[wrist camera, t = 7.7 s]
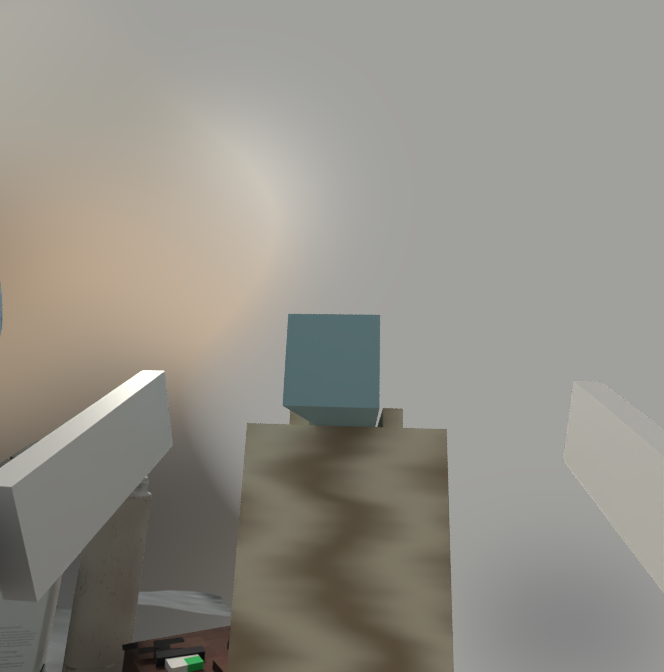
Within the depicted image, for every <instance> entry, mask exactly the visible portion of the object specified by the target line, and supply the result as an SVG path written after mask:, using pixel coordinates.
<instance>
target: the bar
mask: <svg viewBox="0 0 664 672" xmlns="http://www.w3.org/2000/svg"><path fill="white" fill-rule="evenodd" d="M379 363H380V315H336V314H334V315H333V314H289V315H288V329H287V345H286V361H285V377H284V393H283V406H284V407H286V408H288V409H289V410H291V411H292V412H294V413H296V414H297V415H299V416H301V417H302V418H304V419H306V420H307V421H309V422H311V423H312V424H314V425H321V426H354V427H375V425H376V421H377V416H378V411H379V371H380V368H379V367H380V365H379Z"/></svg>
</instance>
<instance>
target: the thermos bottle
mask: <svg viewBox="0 0 664 672" xmlns="http://www.w3.org/2000/svg"><path fill="white" fill-rule="evenodd" d="M148 483H149V482H148V477H147V476H146V477H145V478H144V479H143V480H142V481H141V483H140V484H139V485H138V486H137V487H136V488H135V490H134V491H133V492H132V493H131V494H130V495H129V496H128V498H127V499H126V500H125V501H124V502H123V503H122V505H121V506H120V507H119V508H118V509H117V510H116V512H115V513H114V514H113V515H112V516H111V517H110V518H109V520H108V521H107V522H106V523H105V524H104V525H103V527H102V528H101V529H100V530H99V531H98V532H97V534H96V535H95V536H94V537H93V538H92V539H91V540H90V542H89V543H88V544H87V545H86V546H85V547H84V549H83V550H82V552H81V558H80V565H79V570H78V576H77V582H76V589H75V595H74V602H73V607H72V613H71V619H70V625H69V631H68V638H67V644H66V650H65V656H64V662H63V668H62V672H122V668H123V660H124V653H125V650H123V651H122V650H121V645H124V644H129V643H132V640H133V633H134V625H135V617H136V609H137V602H138V594H139V586H140V578H141V571H142V564H143V555H144V547H145V540H146V533H147V524H148V517H149V509H150V502H151V493H149V492H147V486H148Z"/></svg>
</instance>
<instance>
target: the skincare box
mask: <svg viewBox="0 0 664 672" xmlns="http://www.w3.org/2000/svg"><path fill="white" fill-rule="evenodd" d="M61 577H62V574H61V575H60V576H59V578H58V579H57V580H56V581H55V582H54V583H53V584H52V586H51V587H50V588H49V589H48V590H47V591H46V593H45V594H44V595H43V596H42V597H41V598H40V600H39V601H38V602H29V601H15V600H3V597H2V593H1V588H0V672H40V670H41V668H42V666H43V663H44V662H45V660H46V655H47V649H48V645H49V639H50V634H51V629H52V624H53V619H54V614H55V608H56V603H57V597H58V593H59V587H60V582H61Z"/></svg>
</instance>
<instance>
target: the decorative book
mask: <svg viewBox="0 0 664 672" xmlns="http://www.w3.org/2000/svg"><path fill="white" fill-rule="evenodd" d="M230 627H231V626H226V627H220V628H215V629H209V630H203V631H197V632H192V633H186V634H181V635H175V636H169V637H163V638H157V639H152V640H146V641H140V642H134V643H129V644H124V645H121V650H122V651H123V650H125V653H124V660H123V668H122V672H227V664H228V651H229V639H230Z"/></svg>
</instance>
